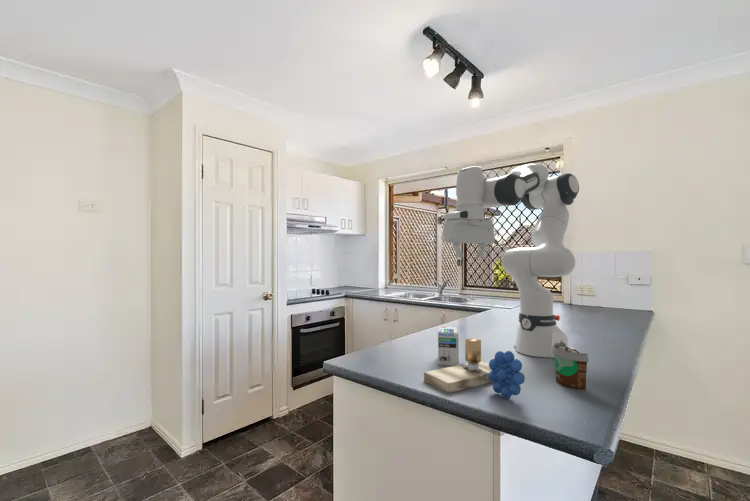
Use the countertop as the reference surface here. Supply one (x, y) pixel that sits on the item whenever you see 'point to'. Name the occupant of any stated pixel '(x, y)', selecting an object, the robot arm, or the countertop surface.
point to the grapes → (506, 374)
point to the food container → (570, 366)
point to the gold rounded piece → (473, 353)
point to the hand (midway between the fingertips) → (469, 257)
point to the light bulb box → (448, 346)
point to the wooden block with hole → (458, 377)
